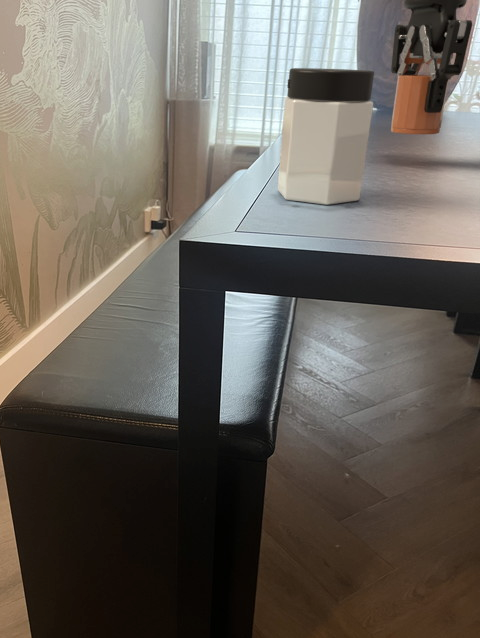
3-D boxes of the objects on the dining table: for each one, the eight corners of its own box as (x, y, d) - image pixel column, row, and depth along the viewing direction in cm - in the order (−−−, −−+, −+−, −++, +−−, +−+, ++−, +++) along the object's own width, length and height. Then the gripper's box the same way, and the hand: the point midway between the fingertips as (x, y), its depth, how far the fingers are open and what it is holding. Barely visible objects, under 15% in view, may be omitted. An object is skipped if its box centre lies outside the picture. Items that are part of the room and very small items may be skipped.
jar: (321, 185, 69) (334, 68, 64) (375, 199, 64) (395, 71, 58) (260, 192, 65) (268, 67, 59) (311, 208, 59) (327, 70, 53)
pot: (422, 129, 87) (431, 74, 84) (448, 133, 82) (459, 76, 78) (382, 129, 86) (389, 75, 83) (406, 135, 80) (415, 76, 77)
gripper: (506, -44, 69) (474, 114, 77) (434, -29, 82) (413, 106, 89) (448, -46, 68) (422, 115, 75) (384, -31, 80) (367, 107, 88)
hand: (417, 110), depth 82 cm, fingers closed on pot, 6 cm apart
